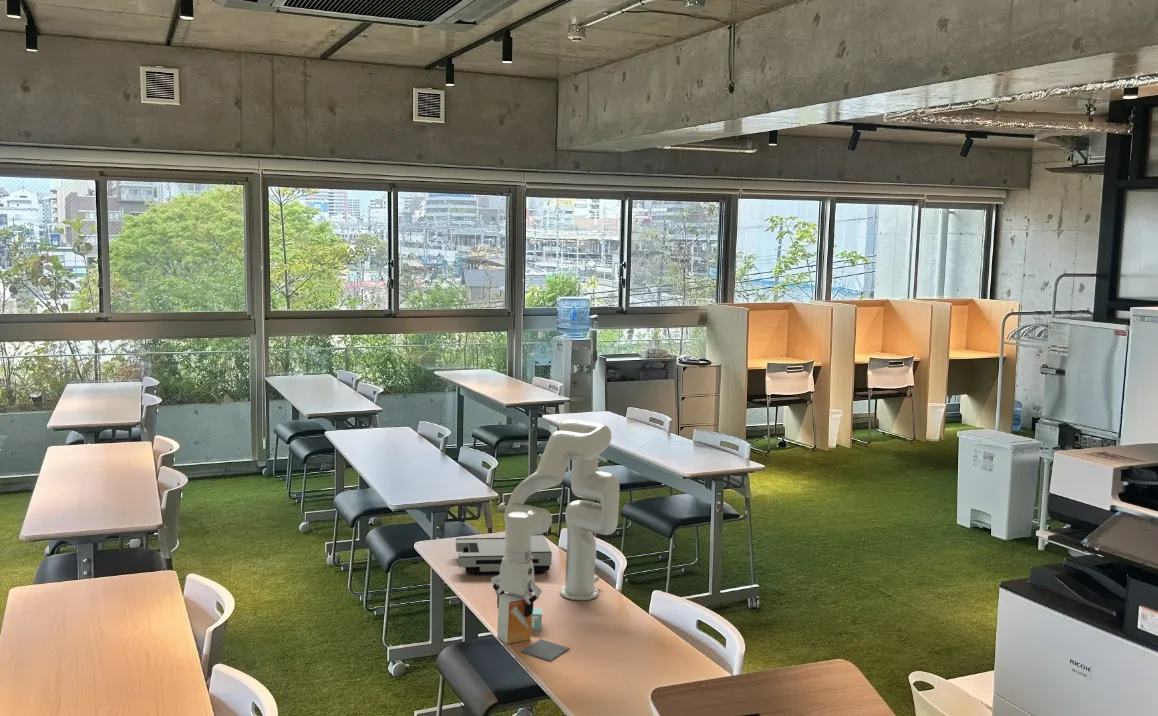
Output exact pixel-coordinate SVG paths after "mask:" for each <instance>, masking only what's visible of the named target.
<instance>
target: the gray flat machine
mask: <svg viewBox="0 0 1158 716" xmlns="http://www.w3.org/2000/svg"><path fill="white" fill-rule="evenodd" d="M504 551H505V537H465V538H464V537H462V538H459V537H457V538H455V552H456V553H458V555H457V557H458V558H457V561H458V567H459V568H465V571H466V572H472V576H497V575H499V574H500V567H501V562H502V559H503V557H504ZM530 551H531V555H533V559H530V560H532V562H533V567H534V575H544V574H545V571H549V570H550V567H551V566H552V558H553V557H552V556H553V552H552V550H551V547H550V546H549V544H548V542H547V539H546V537H545V535H544V533H542V534H537V535H532V536H531V548H530Z"/></svg>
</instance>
